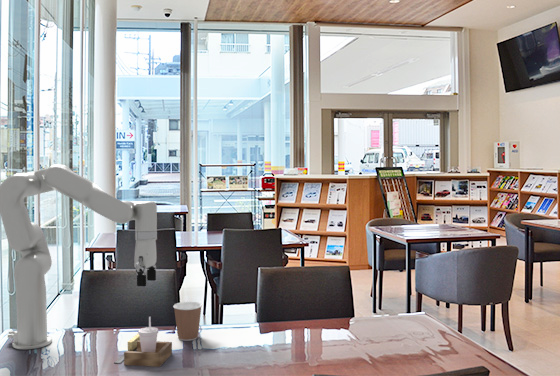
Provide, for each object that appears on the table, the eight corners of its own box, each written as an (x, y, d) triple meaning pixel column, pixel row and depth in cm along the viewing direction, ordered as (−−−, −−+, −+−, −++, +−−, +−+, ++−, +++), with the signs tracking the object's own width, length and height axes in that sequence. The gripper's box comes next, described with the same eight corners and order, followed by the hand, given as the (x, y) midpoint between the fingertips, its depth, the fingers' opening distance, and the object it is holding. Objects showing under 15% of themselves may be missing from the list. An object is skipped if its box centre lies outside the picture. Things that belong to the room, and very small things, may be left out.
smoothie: (153, 363, 171) (153, 320, 170) (134, 362, 172) (134, 318, 171) (161, 356, 177) (161, 314, 176) (143, 355, 178) (143, 313, 177)
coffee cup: (207, 334, 199) (207, 302, 199) (193, 343, 189) (193, 310, 189) (182, 332, 202) (182, 300, 202) (168, 340, 193) (167, 307, 192)
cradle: (113, 364, 170) (112, 351, 170) (138, 342, 190) (138, 331, 190) (159, 366, 168) (159, 354, 168) (180, 344, 188) (180, 333, 188)
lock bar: (127, 350, 181) (127, 341, 180) (138, 341, 190) (138, 332, 190) (132, 350, 180) (131, 342, 180) (143, 341, 190) (142, 333, 190)
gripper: (145, 232, 203) (146, 277, 204) (126, 238, 186) (126, 288, 187) (164, 232, 202) (165, 278, 203) (146, 239, 185) (147, 289, 186)
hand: (146, 283), depth 195 cm, fingers open, 8 cm apart
